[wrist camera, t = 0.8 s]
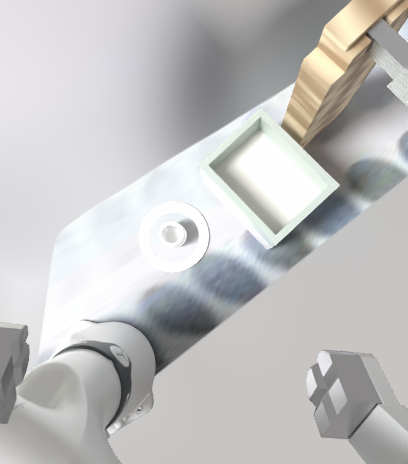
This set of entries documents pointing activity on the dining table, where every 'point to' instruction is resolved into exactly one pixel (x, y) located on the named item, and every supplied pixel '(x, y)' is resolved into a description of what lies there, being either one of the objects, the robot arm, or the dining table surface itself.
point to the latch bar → (390, 56)
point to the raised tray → (266, 178)
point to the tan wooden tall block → (337, 66)
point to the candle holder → (173, 235)
